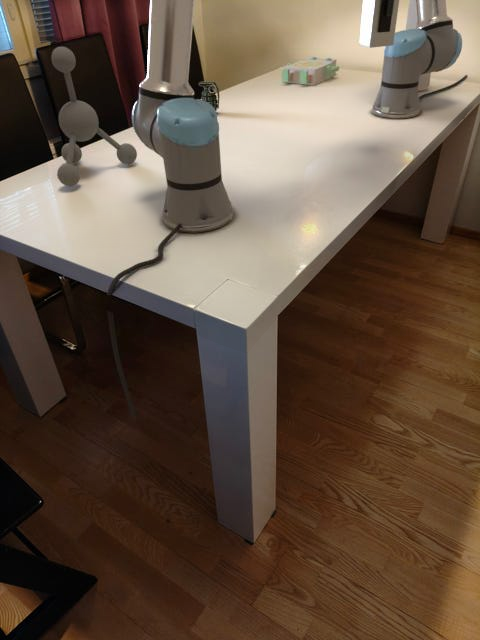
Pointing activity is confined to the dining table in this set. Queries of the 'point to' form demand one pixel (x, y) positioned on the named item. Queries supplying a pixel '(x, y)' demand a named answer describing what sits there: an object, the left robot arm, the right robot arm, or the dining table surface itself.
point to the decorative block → (310, 71)
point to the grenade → (210, 93)
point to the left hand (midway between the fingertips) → (377, 30)
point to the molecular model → (80, 124)
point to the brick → (376, 25)
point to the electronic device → (412, 24)
